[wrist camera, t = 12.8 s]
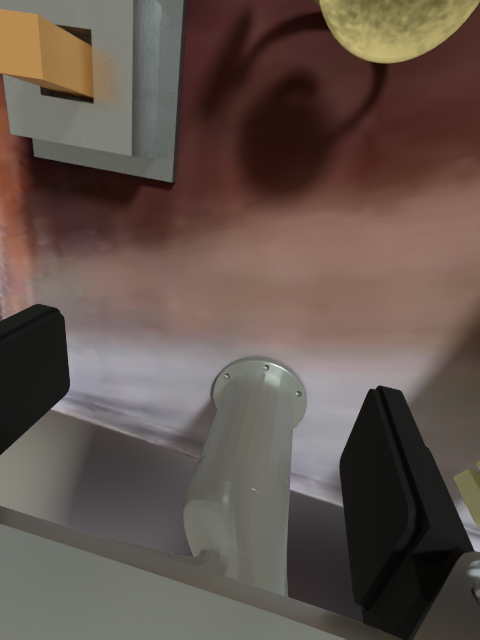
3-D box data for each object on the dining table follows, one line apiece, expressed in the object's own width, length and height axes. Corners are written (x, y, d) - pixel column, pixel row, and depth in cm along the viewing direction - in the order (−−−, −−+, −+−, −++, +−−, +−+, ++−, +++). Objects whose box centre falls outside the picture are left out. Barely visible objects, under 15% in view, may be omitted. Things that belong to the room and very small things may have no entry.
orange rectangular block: (116, 60, 31) (37, 14, 22) (116, 105, 32) (43, 79, 23) (81, 55, 31) (-11, 7, 22) (83, 100, 32) (-3, 72, 23)
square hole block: (175, 182, 35) (151, 184, 30) (41, 156, 37) (-5, 154, 31) (188, -16, 28) (160, -61, 23) (21, -37, 30) (-42, -83, 24)
